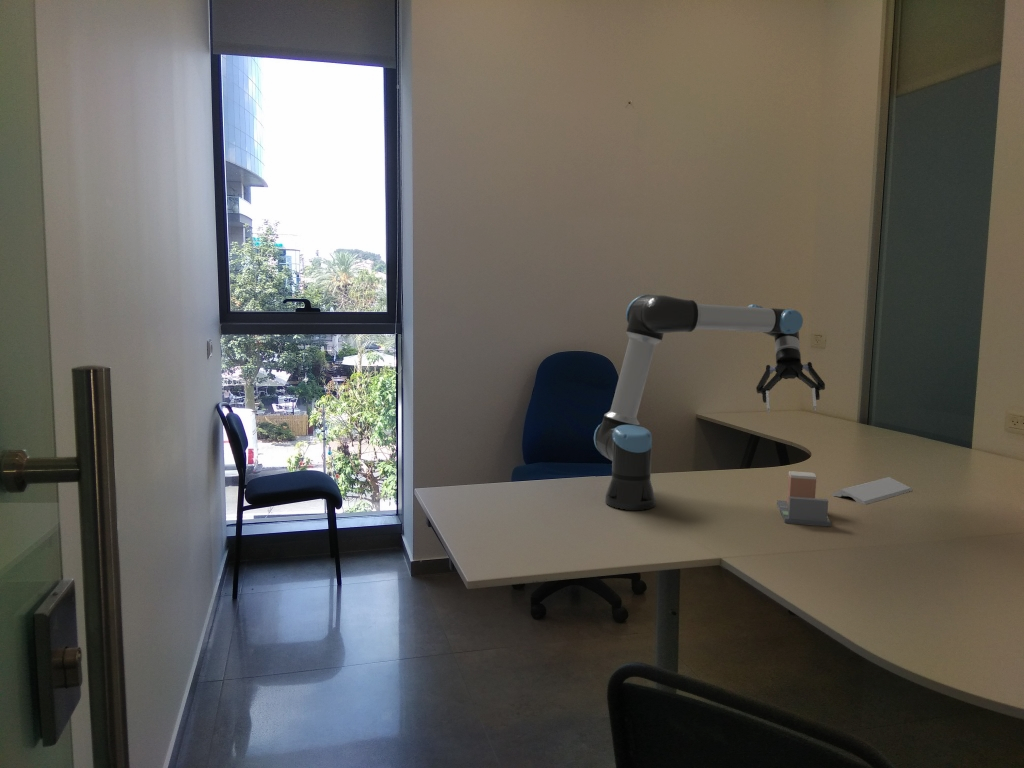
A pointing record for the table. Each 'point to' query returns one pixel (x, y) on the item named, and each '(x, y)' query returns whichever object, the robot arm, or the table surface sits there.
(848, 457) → the table surface
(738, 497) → the table surface
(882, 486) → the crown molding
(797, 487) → the orange box with lid
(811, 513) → the base
